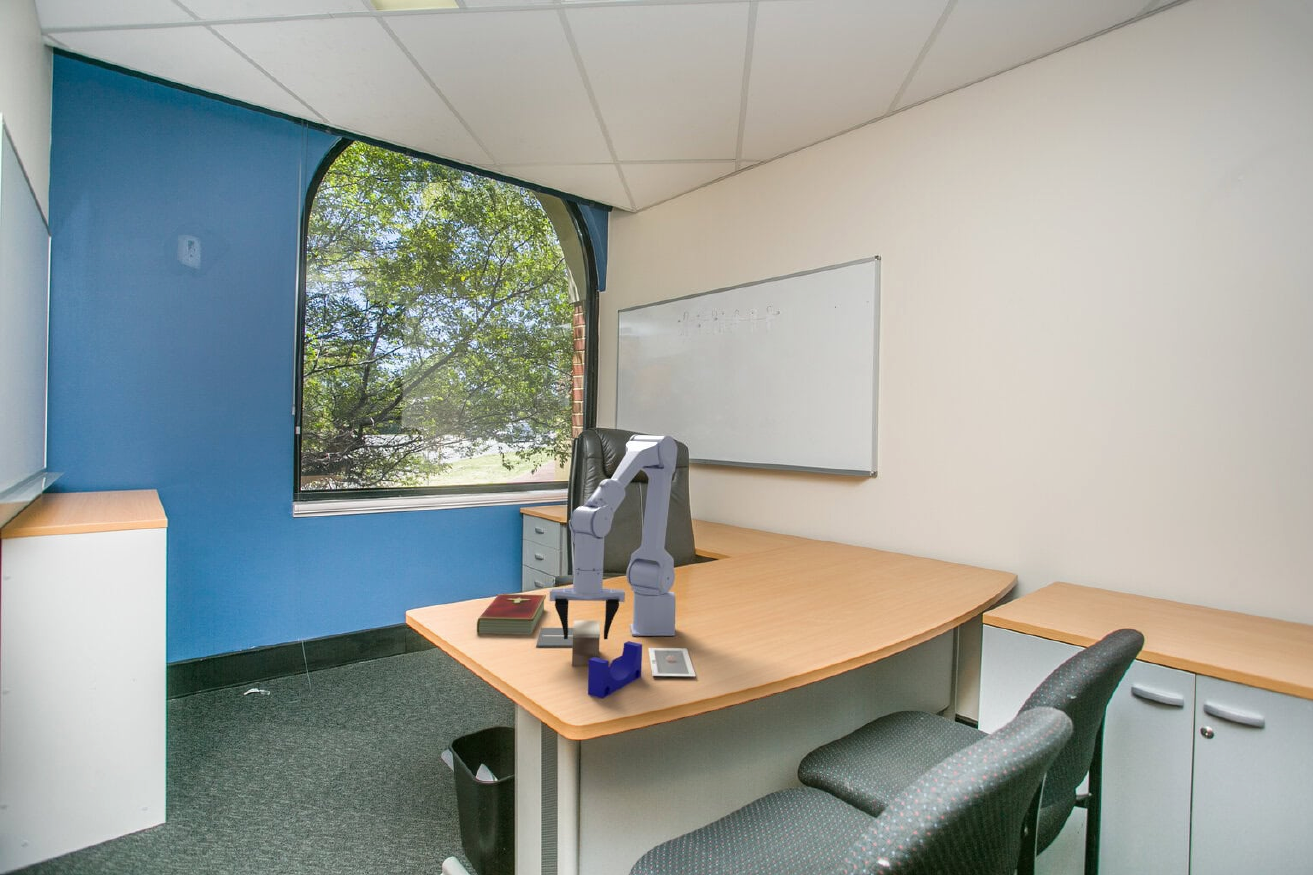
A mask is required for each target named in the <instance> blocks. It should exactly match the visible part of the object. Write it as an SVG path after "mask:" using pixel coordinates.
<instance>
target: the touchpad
mask: <svg viewBox="0 0 1313 875" xmlns="http://www.w3.org/2000/svg"><path fill="white" fill-rule="evenodd" d="M648 655H649V656H648V657H649V662H650V668H651V674H652V676H653V677H656V676H657V677H696V673H695V670H694V666H693V663H692V661H691V657H690V654H689V652H688V648H687V647H686V648H678V647H675V648H674V647H648Z"/></svg>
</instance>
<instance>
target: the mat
mask: <svg viewBox="0 0 1313 875" xmlns="http://www.w3.org/2000/svg"><path fill="white" fill-rule="evenodd" d="M535 648H573V627H568V639H564V633H563V627H540V629H539V633H538V637H537V641H536V645H535Z"/></svg>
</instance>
